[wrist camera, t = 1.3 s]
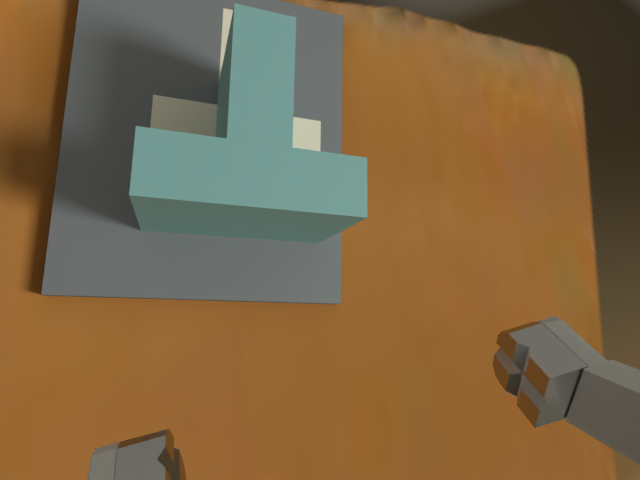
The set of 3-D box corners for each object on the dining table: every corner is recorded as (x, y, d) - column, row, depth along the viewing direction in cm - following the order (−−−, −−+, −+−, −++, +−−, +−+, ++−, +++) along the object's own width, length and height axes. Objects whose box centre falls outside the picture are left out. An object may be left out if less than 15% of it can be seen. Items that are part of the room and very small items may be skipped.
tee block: (140, 230, 34) (129, 195, 24) (155, 71, 36) (149, -16, 27) (318, 243, 38) (367, 217, 29) (321, 100, 40) (366, 33, 31)
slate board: (45, 295, 32) (41, 294, 31) (87, -35, 37) (84, -46, 36) (335, 304, 39) (340, 303, 38) (338, 23, 44) (342, 15, 42)
